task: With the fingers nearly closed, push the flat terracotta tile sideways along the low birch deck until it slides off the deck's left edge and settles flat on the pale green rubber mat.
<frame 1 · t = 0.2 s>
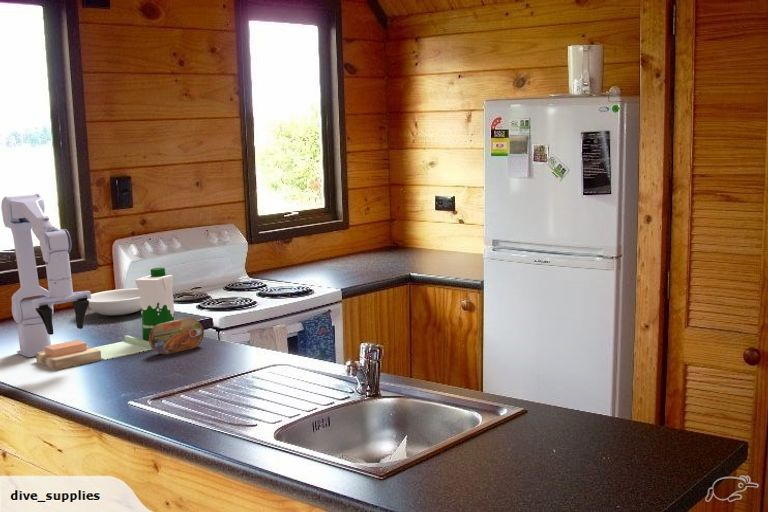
hand: (65, 331, 231), 10 cm above the worktop, fingers open, 7 cm apart
soup bowl: (121, 314, 304), on the worktop
mat: (116, 350, 250), on the worktop
milk carton: (160, 339, 262), on the worktop
tin: (177, 351, 246), on the worktop
deck: (69, 360, 242), on the worktop
tile: (66, 352, 241), point 2 cm above the worktop, touching deck
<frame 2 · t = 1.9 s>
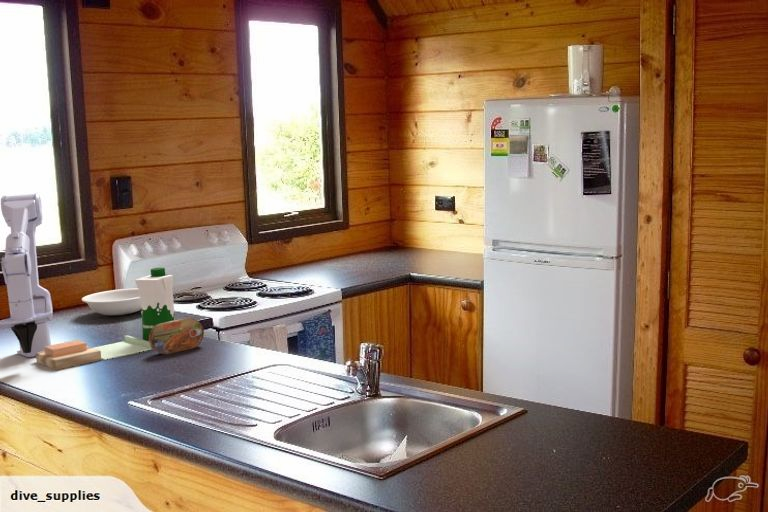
hand: (27, 352, 234), 5 cm above the worktop, fingers closed
nothing on the worktop moved.
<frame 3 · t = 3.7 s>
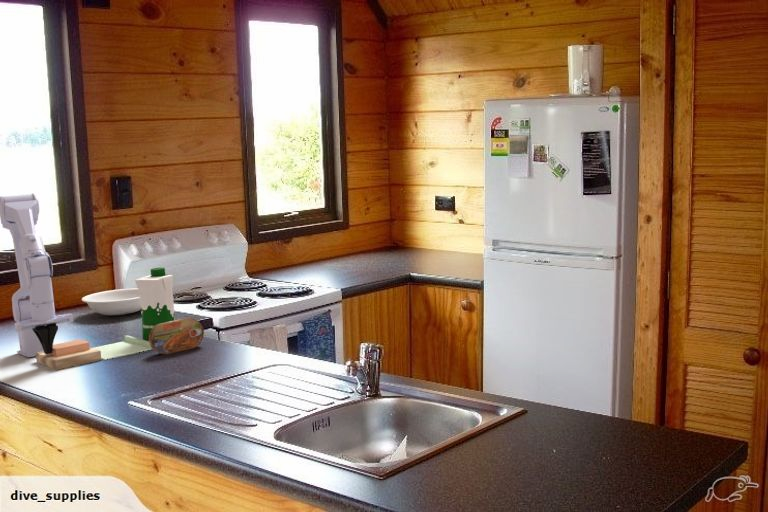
hand: (48, 353, 238), 3 cm above the worktop, fingers closed
tile: (69, 351, 241), point 3 cm above the worktop, touching deck, gripper
everything else where it was.
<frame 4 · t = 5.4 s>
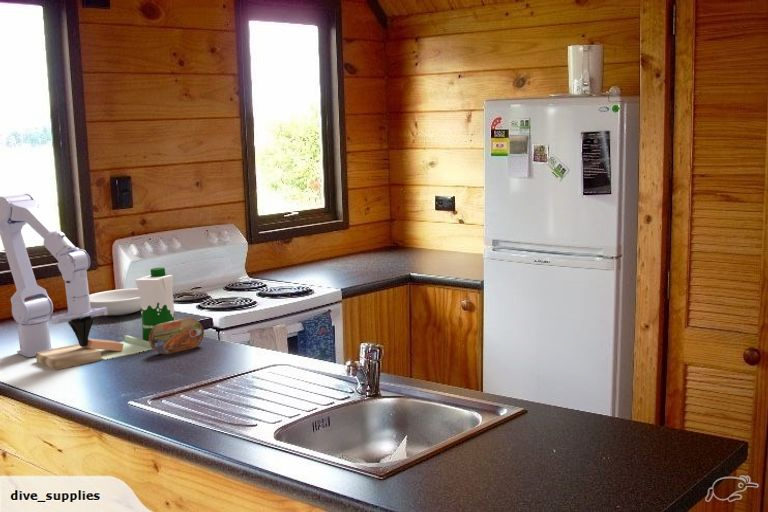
hand: (83, 345, 244), 3 cm above the worktop, fingers closed
tile: (102, 348, 247), point 2 cm above the worktop, tilted 16°, touching gripper
everything else where it was.
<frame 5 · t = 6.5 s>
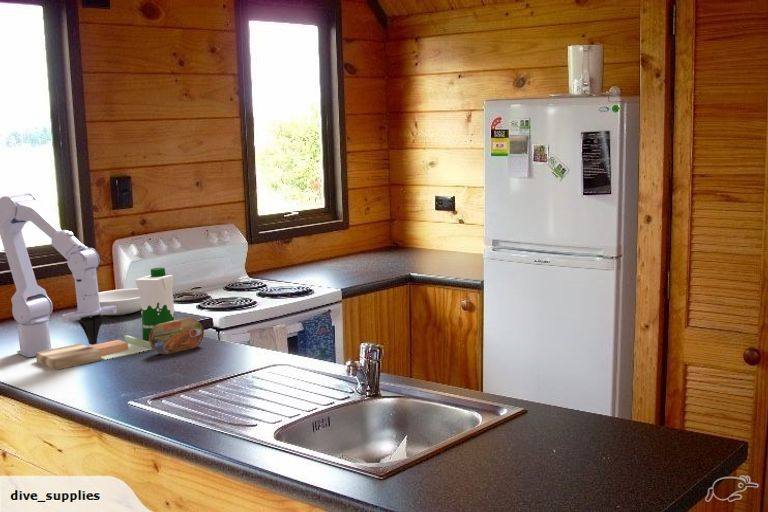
hand: (92, 343, 246), 3 cm above the worktop, fingers closed
tile: (108, 351, 248), resting on mat
everything else where it was.
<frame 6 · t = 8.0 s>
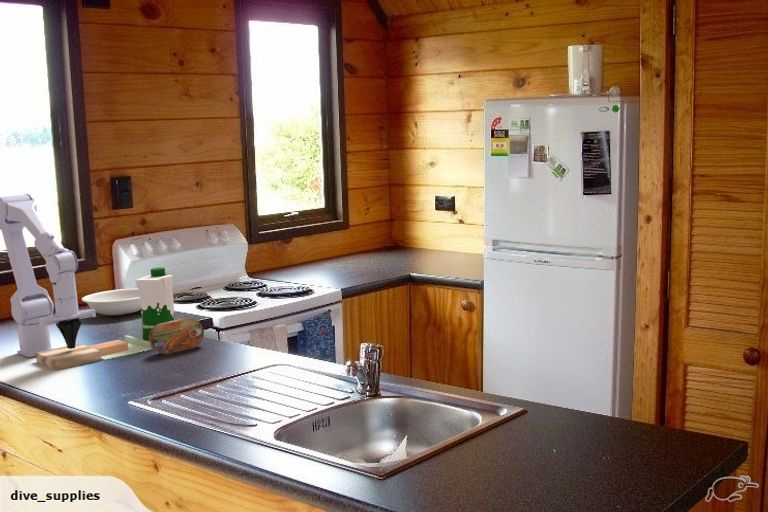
hand: (71, 347, 242), 3 cm above the worktop, fingers closed
nothing on the worktop moved.
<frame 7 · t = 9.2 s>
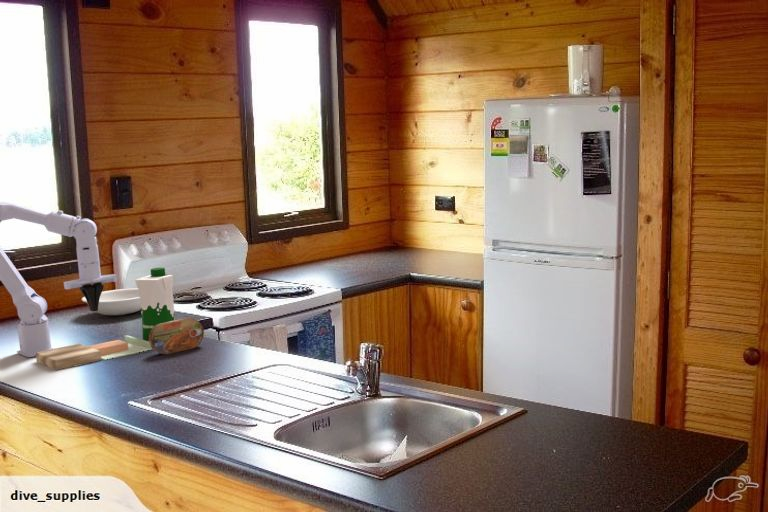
hand: (94, 310, 255), 10 cm above the worktop, fingers closed
nothing on the worktop moved.
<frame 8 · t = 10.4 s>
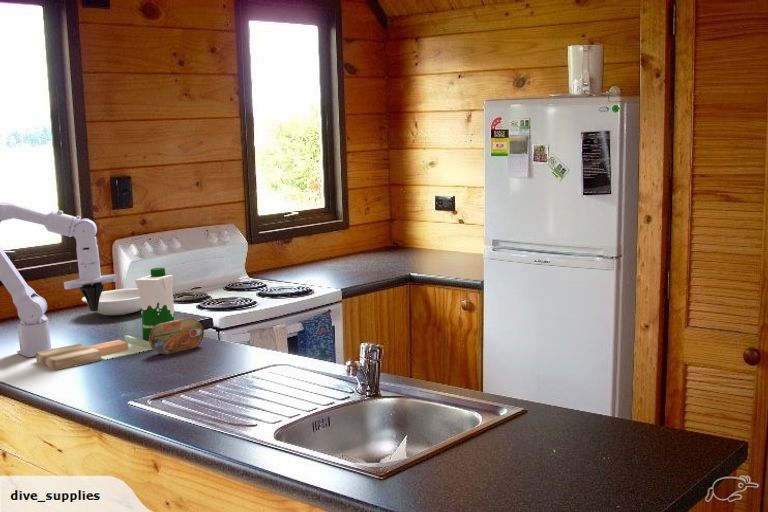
hand: (94, 310, 255), 10 cm above the worktop, fingers closed
nothing on the worktop moved.
at the end: tile resting on mat; tile inside the target area (2.7 cm from its centre), resting on mat; tile tilted 0° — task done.
